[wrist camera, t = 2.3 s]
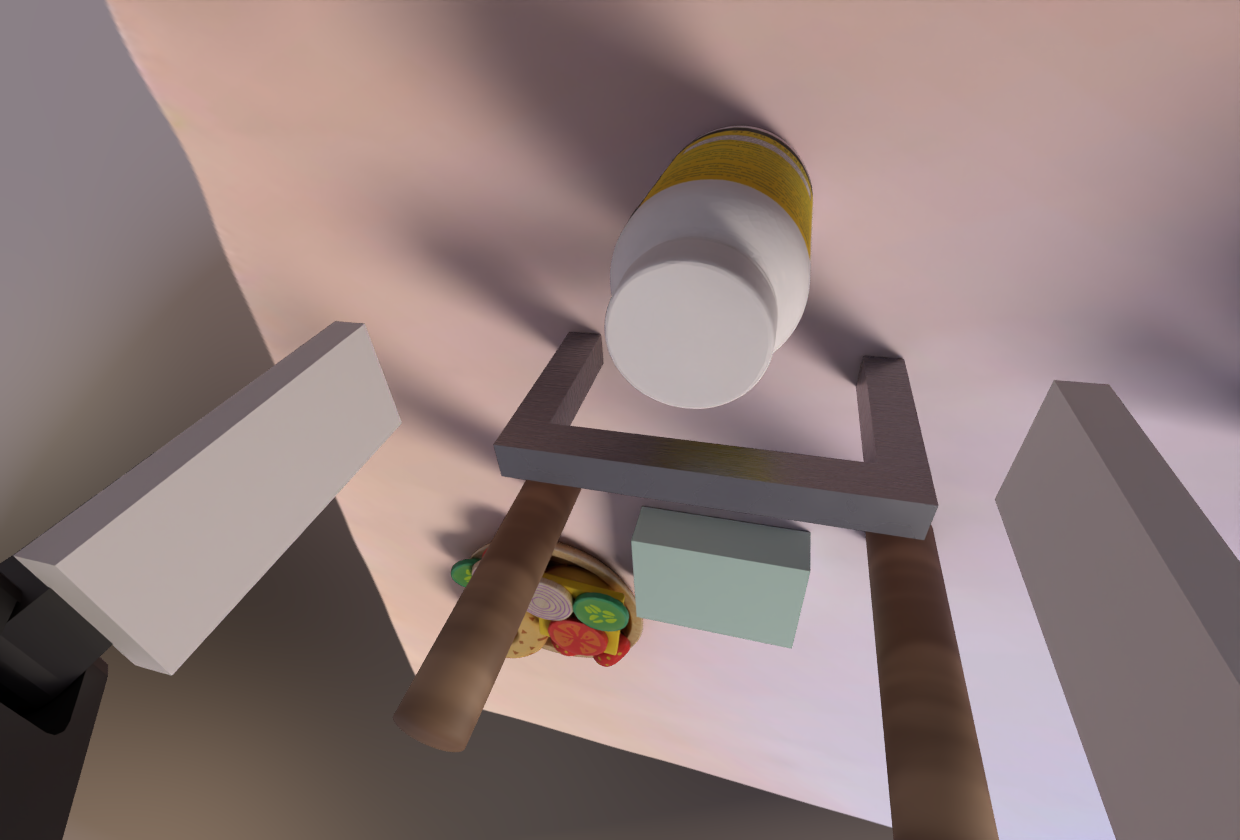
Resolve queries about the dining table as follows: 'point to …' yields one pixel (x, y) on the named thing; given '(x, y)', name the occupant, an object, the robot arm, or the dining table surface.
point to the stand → (720, 575)
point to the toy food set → (572, 608)
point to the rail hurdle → (729, 455)
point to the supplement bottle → (712, 269)
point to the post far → (485, 621)
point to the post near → (924, 698)
